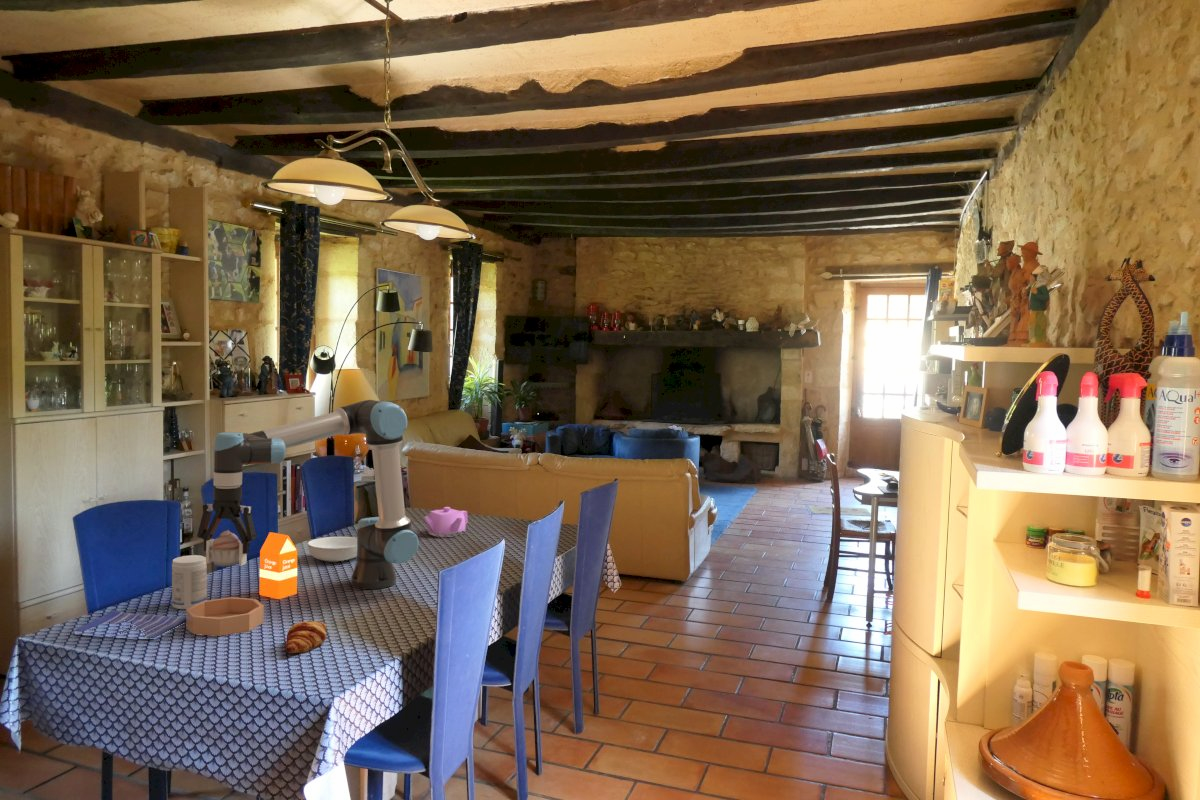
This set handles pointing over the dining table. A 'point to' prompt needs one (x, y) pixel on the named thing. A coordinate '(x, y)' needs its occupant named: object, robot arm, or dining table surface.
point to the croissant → (305, 636)
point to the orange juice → (278, 567)
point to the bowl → (224, 616)
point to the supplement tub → (189, 581)
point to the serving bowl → (333, 548)
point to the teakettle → (446, 521)
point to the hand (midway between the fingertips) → (226, 563)
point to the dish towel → (138, 622)
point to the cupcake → (225, 549)
